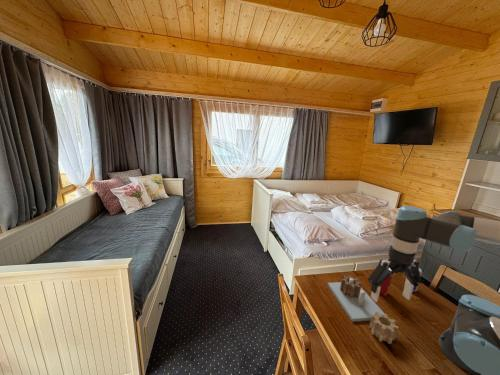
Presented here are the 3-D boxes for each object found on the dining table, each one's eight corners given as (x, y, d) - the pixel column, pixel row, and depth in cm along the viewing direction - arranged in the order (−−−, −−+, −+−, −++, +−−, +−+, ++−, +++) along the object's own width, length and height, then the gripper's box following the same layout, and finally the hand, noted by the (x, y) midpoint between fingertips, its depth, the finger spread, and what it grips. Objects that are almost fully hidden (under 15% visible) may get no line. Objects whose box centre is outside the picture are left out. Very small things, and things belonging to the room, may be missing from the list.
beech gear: (400, 342, 80) (403, 330, 78) (379, 344, 79) (382, 332, 77) (383, 322, 88) (386, 311, 87) (364, 324, 87) (367, 312, 86)
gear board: (386, 319, 90) (390, 302, 88) (352, 321, 88) (355, 305, 86) (355, 283, 111) (358, 270, 109) (327, 285, 109) (329, 271, 107)
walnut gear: (363, 294, 102) (365, 283, 100) (351, 300, 97) (354, 289, 96) (347, 283, 109) (349, 273, 108) (336, 288, 105) (338, 278, 103)
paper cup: (393, 297, 103) (399, 273, 99) (377, 296, 103) (383, 272, 100) (383, 286, 110) (389, 263, 107) (369, 285, 111) (374, 262, 107)
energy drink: (401, 286, 111) (407, 266, 108) (407, 283, 113) (413, 264, 110) (412, 293, 106) (418, 272, 104) (418, 290, 109) (424, 270, 106)
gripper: (424, 242, 79) (411, 289, 85) (363, 243, 76) (354, 292, 82) (443, 253, 72) (428, 304, 77) (378, 255, 69) (366, 307, 74)
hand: (390, 298), depth 80 cm, fingers open, 13 cm apart
